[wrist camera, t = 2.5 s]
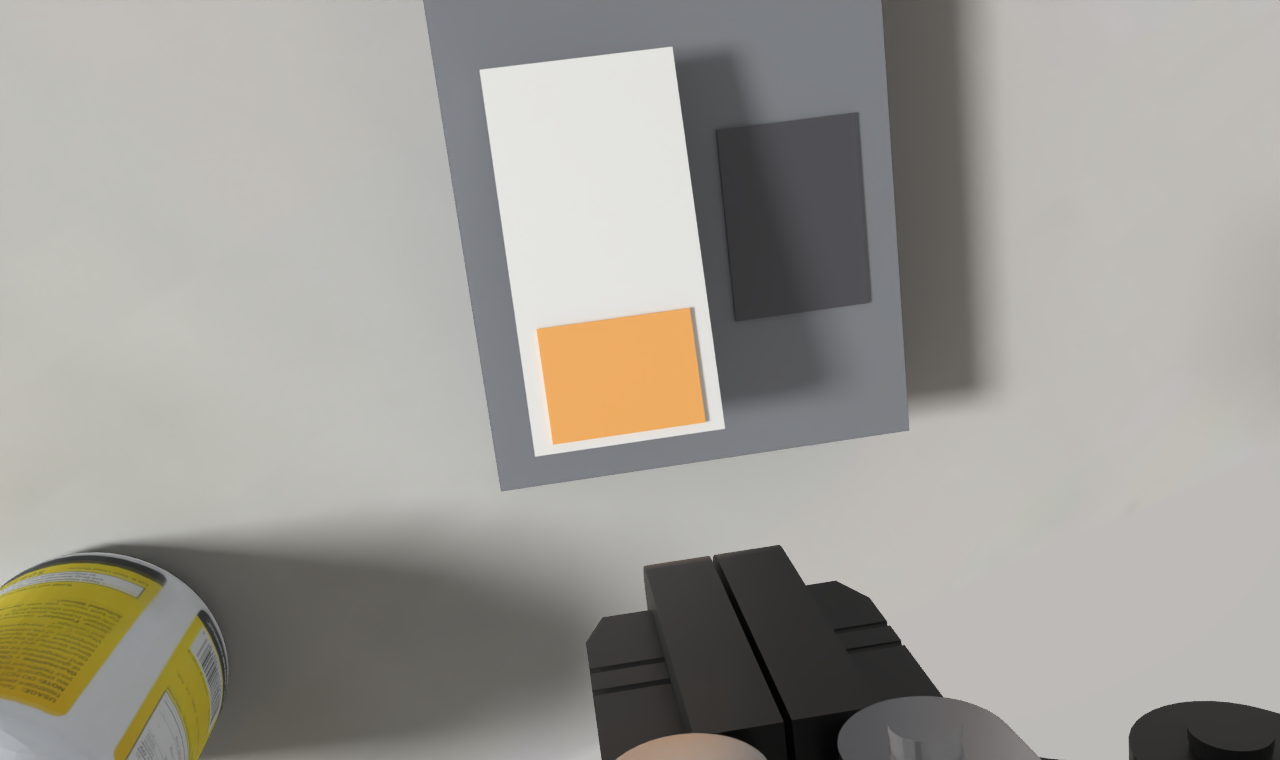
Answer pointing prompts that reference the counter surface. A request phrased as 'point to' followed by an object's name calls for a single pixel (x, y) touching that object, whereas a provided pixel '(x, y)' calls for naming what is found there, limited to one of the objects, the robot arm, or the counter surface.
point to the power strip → (715, 213)
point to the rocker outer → (602, 250)
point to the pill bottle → (107, 662)
